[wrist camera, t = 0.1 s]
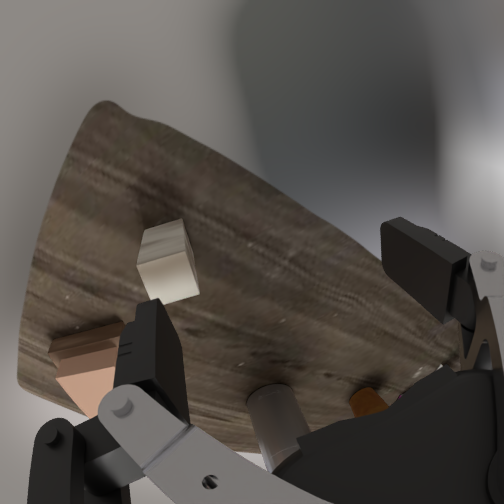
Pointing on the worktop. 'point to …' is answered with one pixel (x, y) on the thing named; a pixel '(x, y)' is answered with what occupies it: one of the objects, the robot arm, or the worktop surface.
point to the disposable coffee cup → (367, 402)
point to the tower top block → (88, 378)
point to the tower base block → (85, 342)
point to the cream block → (167, 263)
